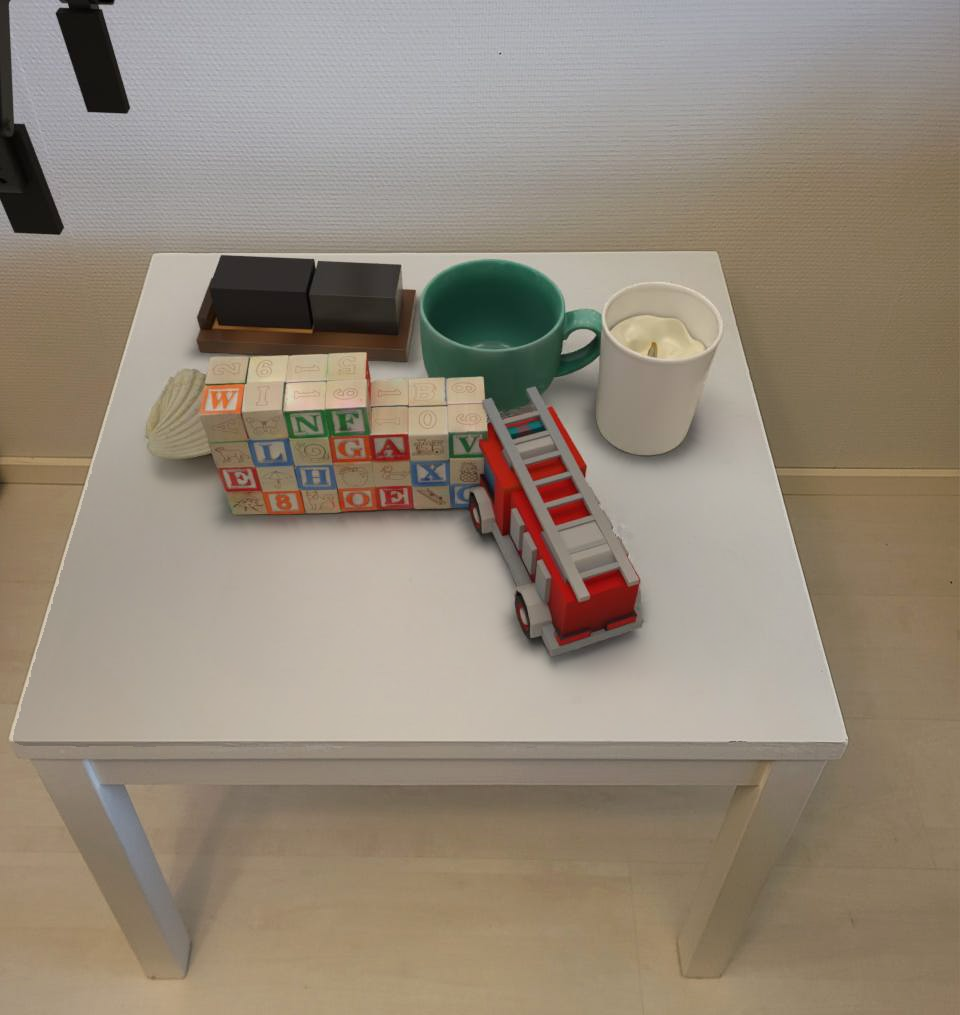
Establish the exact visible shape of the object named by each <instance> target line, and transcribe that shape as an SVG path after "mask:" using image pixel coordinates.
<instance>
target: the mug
mask: <svg viewBox="0 0 960 1015" xmlns="http://www.w3.org/2000/svg"><path fill="white" fill-rule="evenodd" d="M418 311H419V313H418V314H419V332H420V333H419V335H420V346H421V355H422V360H423V365H424V369H425V372H426V374H427V377H428V378H442V377H443V378H446V379H448V378H458V377H479V376H480V377H483V378H484V392H485V399H489V398H492V400H493V402H494V404H495V406H496V408H497V410H498V412H499V413H503V412H508V411H513V410H517V409H519V408H523V407H524V406H527V405H528V404H532V403H531V401H530V399H529V397H528V395H527V393H526V389H527V388H531V387H536V389H537V390H538V392H539V394H540V396H542V395H543V394H544V393H545V392H546V391H547V390H548V389H549V387H550V386H551V385H552V383H553V381H554V380H555V379H556V378H561V377H565V376H568V375H571V374H574V373H577V372H578V371H580V370H582V369H584V368H586V367H587V366H589V365H590V364H592V363H593V362H595V361H596V359H598V358H600V344H601V329H602V323H601V315H602V313H600V312H599V311H597V310H595V309H591V308H579V309H575V310H574V309H573V310H570V311H566V302H565V297H564V295H563V293H562V290H560V288H559V287H558V285H557V284H556V283H555V282H554V281H553V280H552V279H551V278H550V277H549V276H547V275H546V274H544V273H543V272H541V271H540V270H538V269H536V268H534V267H532V266H529V265H527V264H523V263H521V262H517V261H513V260H507V259H499V258H498V259H497V258H482V259H481V258H480V259H474V260H468V261H464V262H460V263H456V264H454V265H451V266H450V267H447V268H446V269H443V270H442V271H440V272H439V273H438V274H436V275H435V276H434V277H432V278H431V279H430V281H429V282H428V283H426V285H425V287H424V288H423V290H422V292H421V294H420V298H419V310H418ZM578 330H588V331H591V332H593V333H594V334H595V336H594V338H593V339H592V340H591V341H589V343H587V344H585V345H584V346H583V347H581V348H579V349H577V350H574V351H571V352H567V353H562V351H563V346H564V341H567V340H568V339H569V337H570V336H571V334H572V333H573V332H576V331H578Z"/></svg>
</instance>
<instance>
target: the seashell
mask: <svg viewBox="0 0 960 1015" xmlns="http://www.w3.org/2000/svg"><path fill="white" fill-rule="evenodd" d="M206 375H207V373H203V372H201V371H200V370H199V369H197V368H182V369H180V370H178V371H177V372H176V374H175V375H173V376H170V377H169V379H168V381H167V383H166V385H165V386H164V388H163V390H162V391H161V392H160V394H159V395H158V397H157V399H156V401H155V402H154V404H153V405H152V407H151V410H150V412H149V413H148V415H147V420H146V422H145V423H146V424H145V433H144V438H145V439H148V440H147V441H146V442H147V443H146V448H147V450H148V451H149V453H150V454H152V455H154V456H157V457H159V458H163V459H168V460H169V459H171V460H184V459H192V458H197V457H202V456H206V455H210V454H212V453H211V449H210V447H209V444H208V439H207V436H206V433H205V430H204V427H203V424H202V421H201V418H200V415H199V414H200V407H201V401H202V396H203V391H204V388H205V380H206Z"/></svg>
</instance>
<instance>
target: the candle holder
mask: <svg viewBox="0 0 960 1015" xmlns="http://www.w3.org/2000/svg"><path fill="white" fill-rule="evenodd" d="M601 323H602V329H601V344H600V355H599V359H598V360H599V361H598V373H597V374H598V376H597V388H596V390H597V392H596V405H595V406H596V408H595V419H596V425H597V428H598V430H599V432H600V434H601V435H602V437H603V438H604V439H605V440H606V441H607V442H608V443H609V444H610V445H612V446H613V447H614V448H617V449H618V450H620V451H622V452H626V453H629V454H632V455H637V456H657V455H661V454H666V453H667V452H670V451H672V450H674V449H675V448H677V447H678V446H680V444H681V443H682V442H683V441H684V440H685V438H686V437H687V434H688V432H689V430H690V427H691V424H692V421H693V419H694V416H695V413H696V410H697V407H698V404H699V402H700V400H701V399H700V398H701V396H702V394H703V390H704V387H705V384H706V381H707V378H708V375H709V373H710V369H711V367H712V364H713V361H714V358H715V355H716V352H717V350H718V346H719V344H720V343H721V341H722V338H723V334H724V328H725V326H724V320H723V317H722V314H721V312H720V311H719V309H718V308H717V306H716V305H715V304H714V303H713V302H712V301H711V300H710V299H709V298H708V297H706V296H705V295H703V294H702V293H700V292H698V291H697V290H694V289H692V288H690V287H687V286H684V285H681V284H677V283H673V282H668V281H644V282H638V283H634V284H630V285H627V286H624V287H622V288H621V289H618V291H616V292H614V293H613V294H612V295H610V297H609V298H608V299H607V300H606V302H605V303H604V305H603V308H602V311H601Z"/></svg>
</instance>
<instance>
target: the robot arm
mask: <svg viewBox="0 0 960 1015" xmlns="http://www.w3.org/2000/svg"><path fill="white" fill-rule="evenodd" d="M58 1H59V2H60V3H61V4H67V6H68V7H59V8H58V9H57V10H56V11H55V16H56V19H57V22H58V25H59V28H60V32H61V35H62V37H63V41H64V44H65V47H66V50H67V53H68V56H69V59H70V60H69V61H70V63H71V66H72V69H73V71H74V75H75V78H76V81H77V84H78V87H79V90H80V94H81V97H82V99H83V102H84V106H85V109H86V112H87V113H97V114H98V113H100V114H120V115H121V114H122V115H127V114H128V113H129V111H130V109H131V106H130V102H129V99H128V95H127V92H126V89H125V85H124V81H123V78H122V75H121V70H120V67H119V63H118V59H117V57H116V54H115V50H114V47H113V42H112V40H111V39H112V38H111V36H110V32H109V29H108V25H107V22H106V19H105V18H106V17H105V15H104V12H103V9H102V8H100V6H114V5H115V2H116V0H58ZM10 3H11V0H0V204H1V205H2V208H3V210H4V212H5V215H6V217H7V219H8V222H9V224H10V226H11V228H12V231H13V233H14V234H29V235H49V236H51V235H52V236H60V235H61V234H62V232H63V231H64V228H65V226H64V223H63V220H62V217H61V216H60V213H59V209H58V208H57V204H56V203H55V200H54V197H53V194H52V192H51V189H50V186H49V184H48V181H47V179H46V176H45V174H44V171H43V168H42V165H41V163H40V160H39V158H38V156H37V155H38V154H37V152H36V149H35V146H34V144H33V142H32V139H31V137H30V135H29V132H28V130H27V126H26V124H25V123H15V113H14V112H15V111H14V110H15V109H14V90H13V68H12V67H13V66H12V65H13V64H12V45H11V44H12V42H11V22H10V20H11V18H10Z"/></svg>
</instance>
